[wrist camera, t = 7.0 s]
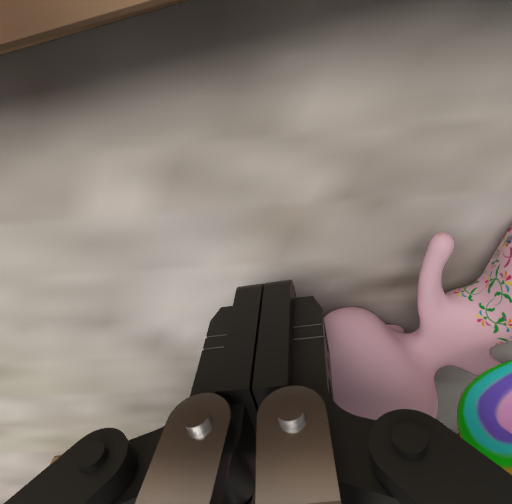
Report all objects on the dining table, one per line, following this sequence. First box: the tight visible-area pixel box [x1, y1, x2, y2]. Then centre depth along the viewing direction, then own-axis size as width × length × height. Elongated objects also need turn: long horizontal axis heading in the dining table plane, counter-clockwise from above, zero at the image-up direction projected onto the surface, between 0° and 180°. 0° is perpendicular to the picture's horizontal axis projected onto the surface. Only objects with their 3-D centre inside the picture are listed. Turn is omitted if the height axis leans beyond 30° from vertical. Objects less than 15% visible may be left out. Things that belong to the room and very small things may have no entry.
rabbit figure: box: [324, 226, 512, 475], centre depth 11 cm, size 6×6×15 cm
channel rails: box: [0, 0, 460, 465], centre depth 12 cm, size 21×20×4 cm
